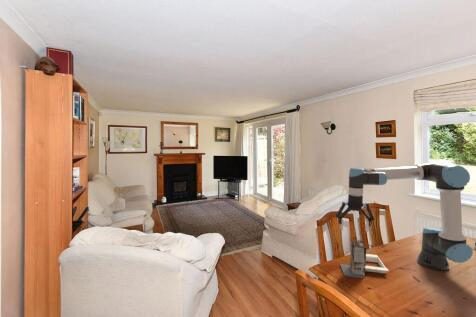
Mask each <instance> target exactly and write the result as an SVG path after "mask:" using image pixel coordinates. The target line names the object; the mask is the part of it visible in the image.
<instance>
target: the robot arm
mask: <svg viewBox="0 0 476 317" xmlns="http://www.w3.org/2000/svg"><path fill="white" fill-rule="evenodd" d="M391 180H392V181H393V180H395V181H396V180H417V181H429V182H433V183H435V189H437V190H438V191H439V199H440V200H439V201H440V205H439V206H440V224H441V228H438V227H433V226H432V227H431V226H425V227H423V229H422V236H421V239H422V240H421V250H420V251H419V254H418V255H417V259H416V261H417V263H419V264H420V265H421V266H423V267H425V268H428V269H432V270H435V271H448V270H449V267H450V265H449V264H450V263H449V261H452V262H454V263H457V264H462V263H466V262H468V260H471V258H472V256H473V254H474V251H473V248H472V247H471V246H470V245H469V244H468V243H467V237H466V236H465V235H464V234H463V219H462V217H463V216H462V197H461V196H462V195H461V194H462V193H461V192H462V191H464V190H465V186H467V185H468V183H470V180H471V175H470V172H469V170H467V168H465V167H464V166H462V165H457V164H455V163H453V164H452V163H444V162H431V163H422V164H421V163H420V164H415V165H414V166H397V167H395V166H394V167H382V168H381V167H378V168H363V167H362V168H361V167H350V168H349V172H348V196H347V202H345V201H342V202H341V206H340V207H339V209H338V211H337V212H336V214H335V217H336V218H337V219H338V224H339V225H340V230H341V231H343V230H344V217H345V216H347V214H349V213H350V212H351V211H352V212H353V211H354V212H355V211H356V212H359V211H360V212H361V213H362V215H363V216H364V217H365V218H366V219H365V228H364V229H365V231H366V233H369V227H371V222H372V221H375V218H374V215H373V213H372V211H371V209H370V205H369V203H367V202H365V203H363V200H364V198H363V195H364V185H365V186H367V185H368V186H384V185H386V184H387V182H388V181H391ZM346 206H347V207H346ZM363 207H364V208H365V209H366V212H367V214H366V212H365V211H364V210H363ZM345 208H346V209H345ZM344 209H345V210H344ZM343 210H344V211H343ZM448 260H449V261H448Z"/></svg>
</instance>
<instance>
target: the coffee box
mask: <svg viewBox="0 0 476 317" xmlns="http://www.w3.org/2000/svg"><path fill="white" fill-rule="evenodd" d="M366 254H367V246H366V245H365V244H364V242H363V241H358V240H357V241H356V240H351V241H350V259H349V260H350V263H349V265H350V267H351V269H352V272H353V274H358V275H363V276H366V275H365V274H366V271H365V266H366V263H367V261H366Z"/></svg>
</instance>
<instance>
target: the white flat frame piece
mask: <svg viewBox="0 0 476 317" xmlns="http://www.w3.org/2000/svg"><path fill="white" fill-rule="evenodd" d="M366 262H369V263H378V265H379V266H371V265H365V272H372V273H379V274H387V272H390V271H389V269H388V268H387V267H386V266H385V265H384V263H383V261H382V260H381V259H380V258H379V256H378V255H377V254H369V253H366Z"/></svg>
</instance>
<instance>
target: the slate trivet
mask: <svg viewBox="0 0 476 317" xmlns="http://www.w3.org/2000/svg"><path fill="white" fill-rule="evenodd" d="M339 267H340V268H341V271H342V274H343V275H344V277H348V278H349V277H351V278H358V279H364V277H365V276H364V275H358V274H353V272H352V269H351V267H350V264H344V263H340V264H339Z"/></svg>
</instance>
